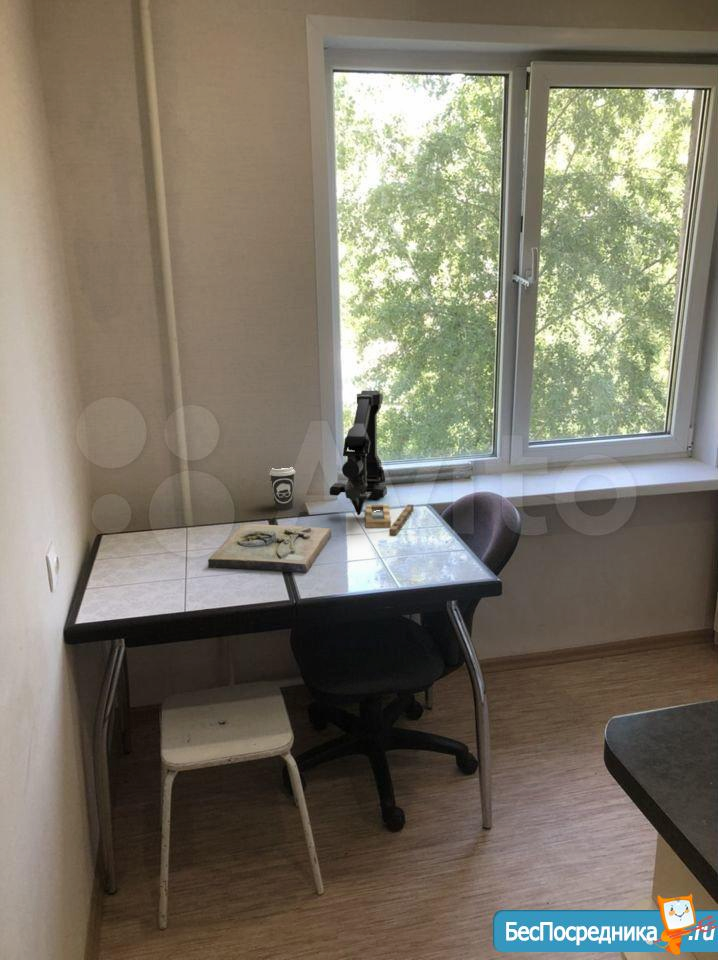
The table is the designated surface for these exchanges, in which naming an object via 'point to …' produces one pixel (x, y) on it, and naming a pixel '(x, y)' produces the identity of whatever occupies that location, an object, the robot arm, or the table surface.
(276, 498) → the coffee cup
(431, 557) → the table surface
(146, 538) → the table surface
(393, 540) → the table surface
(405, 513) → the rail
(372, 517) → the frame
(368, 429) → the robot arm
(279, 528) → the plaque
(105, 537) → the table surface
